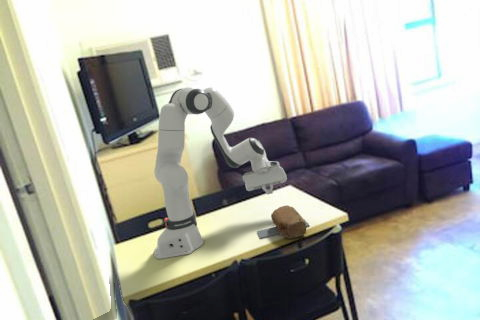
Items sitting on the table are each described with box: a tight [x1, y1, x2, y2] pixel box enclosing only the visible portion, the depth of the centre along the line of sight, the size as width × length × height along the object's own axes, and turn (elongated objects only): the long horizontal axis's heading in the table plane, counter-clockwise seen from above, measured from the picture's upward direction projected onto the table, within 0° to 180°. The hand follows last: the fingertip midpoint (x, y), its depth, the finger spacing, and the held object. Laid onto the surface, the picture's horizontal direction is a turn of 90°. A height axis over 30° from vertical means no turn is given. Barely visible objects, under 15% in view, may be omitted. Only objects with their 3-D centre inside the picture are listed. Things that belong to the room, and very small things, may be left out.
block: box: [270, 205, 307, 239], centre depth 179 cm, size 11×8×20 cm
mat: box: [257, 219, 310, 240], centre depth 183 cm, size 22×8×1 cm, turn 99°
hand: (269, 193), depth 197 cm, fingers closed
